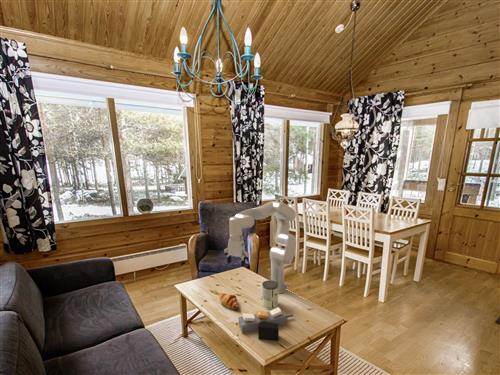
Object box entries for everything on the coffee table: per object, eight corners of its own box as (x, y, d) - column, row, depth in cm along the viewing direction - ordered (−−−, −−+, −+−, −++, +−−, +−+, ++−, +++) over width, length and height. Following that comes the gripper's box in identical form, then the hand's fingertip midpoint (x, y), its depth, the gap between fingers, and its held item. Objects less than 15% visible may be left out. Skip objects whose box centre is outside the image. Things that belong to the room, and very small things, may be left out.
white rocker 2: (279, 309, 144) (278, 307, 143) (281, 313, 140) (281, 311, 140) (269, 313, 142) (269, 311, 142) (272, 317, 138) (271, 315, 138)
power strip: (289, 314, 148) (289, 307, 148) (295, 322, 140) (295, 315, 140) (238, 323, 140) (238, 316, 139) (241, 333, 132) (241, 325, 132)
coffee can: (264, 299, 165) (264, 279, 164) (279, 301, 162) (279, 281, 160) (260, 307, 155) (260, 286, 154) (276, 310, 152) (276, 289, 151)
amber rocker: (265, 314, 142) (266, 311, 142) (268, 318, 138) (268, 315, 138) (256, 313, 140) (256, 310, 140) (258, 317, 136) (258, 314, 136)
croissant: (217, 302, 167) (212, 294, 164) (228, 292, 172) (223, 284, 170) (234, 317, 151) (229, 308, 148) (246, 305, 156) (241, 296, 153)
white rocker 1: (252, 316, 139) (253, 314, 139) (254, 321, 136) (255, 318, 136) (242, 316, 138) (243, 313, 138) (244, 320, 134) (245, 317, 134)
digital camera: (278, 334, 131) (278, 321, 130) (278, 341, 126) (278, 328, 125) (259, 332, 133) (259, 320, 132) (258, 339, 127) (258, 326, 127)
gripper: (251, 237, 148) (251, 264, 149) (227, 234, 156) (227, 260, 157) (245, 241, 141) (245, 269, 143) (220, 237, 149) (221, 264, 151)
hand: (236, 264), depth 150 cm, fingers open, 9 cm apart
